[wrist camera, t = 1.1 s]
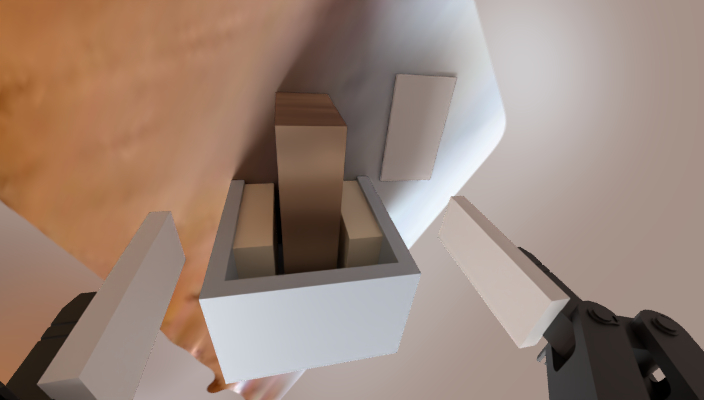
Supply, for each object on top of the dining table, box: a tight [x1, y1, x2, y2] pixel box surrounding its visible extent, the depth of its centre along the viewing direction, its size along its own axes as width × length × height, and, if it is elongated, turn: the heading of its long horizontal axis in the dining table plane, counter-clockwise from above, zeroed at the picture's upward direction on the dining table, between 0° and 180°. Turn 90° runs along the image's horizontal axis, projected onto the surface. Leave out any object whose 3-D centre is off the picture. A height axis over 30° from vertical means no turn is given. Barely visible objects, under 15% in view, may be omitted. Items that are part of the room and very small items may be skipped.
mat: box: [380, 74, 457, 181], centre depth 29 cm, size 11×6×1 cm, turn 175°
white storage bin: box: [199, 176, 421, 384], centre depth 26 cm, size 10×14×14 cm
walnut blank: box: [275, 92, 347, 275], centre depth 25 cm, size 14×4×9 cm, turn 175°
